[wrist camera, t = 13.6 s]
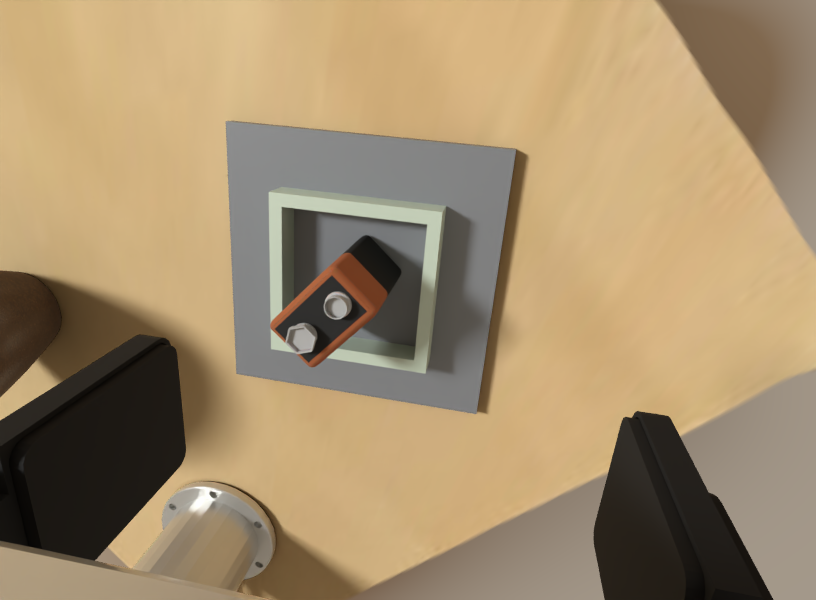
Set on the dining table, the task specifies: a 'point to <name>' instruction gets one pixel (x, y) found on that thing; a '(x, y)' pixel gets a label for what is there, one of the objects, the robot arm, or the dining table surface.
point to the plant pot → (24, 324)
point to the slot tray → (396, 235)
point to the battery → (337, 302)
